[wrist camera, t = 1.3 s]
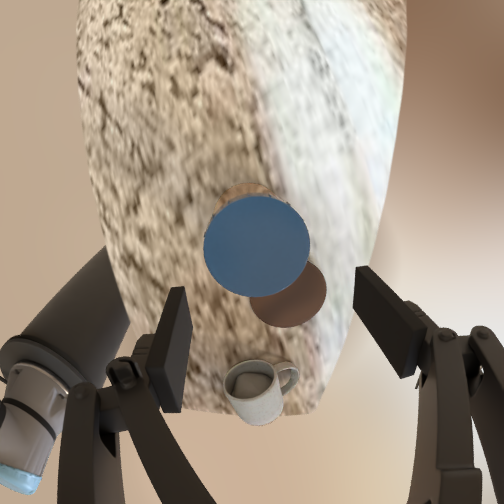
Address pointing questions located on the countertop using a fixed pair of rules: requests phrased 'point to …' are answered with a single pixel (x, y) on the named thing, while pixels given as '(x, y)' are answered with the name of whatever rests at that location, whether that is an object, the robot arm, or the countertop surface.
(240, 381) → the ceramic mug
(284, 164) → the countertop surface
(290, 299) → the coaster
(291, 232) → the jar lid
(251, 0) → the countertop surface
